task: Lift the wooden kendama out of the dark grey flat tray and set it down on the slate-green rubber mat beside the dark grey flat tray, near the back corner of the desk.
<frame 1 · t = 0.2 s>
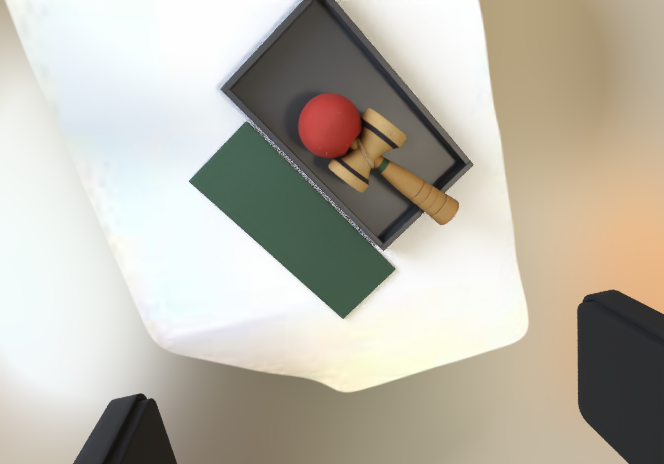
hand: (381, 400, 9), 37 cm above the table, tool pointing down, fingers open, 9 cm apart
dark grey flat tray: (351, 128, 44), on the table
mat: (298, 227, 46), on the table
kendama: (381, 157, 44), point 1 cm above the table, touching dark grey flat tray
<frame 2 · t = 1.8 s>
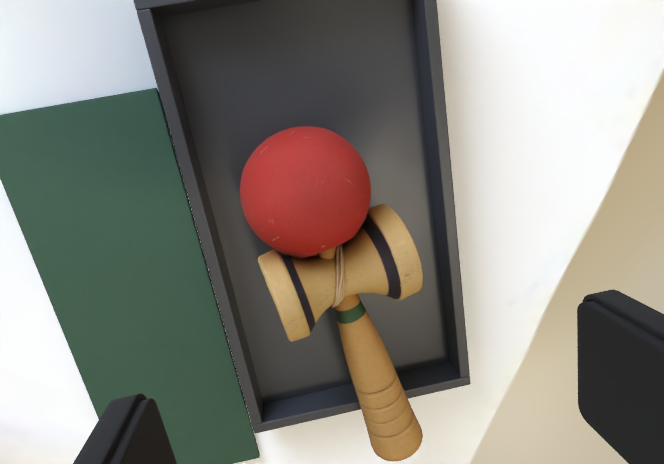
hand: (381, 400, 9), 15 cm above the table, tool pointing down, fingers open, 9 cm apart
dark grey flat tray: (326, 214, 24), on the table
mat: (141, 312, 24), on the table
kendama: (343, 288, 24), point 1 cm above the table, touching dark grey flat tray
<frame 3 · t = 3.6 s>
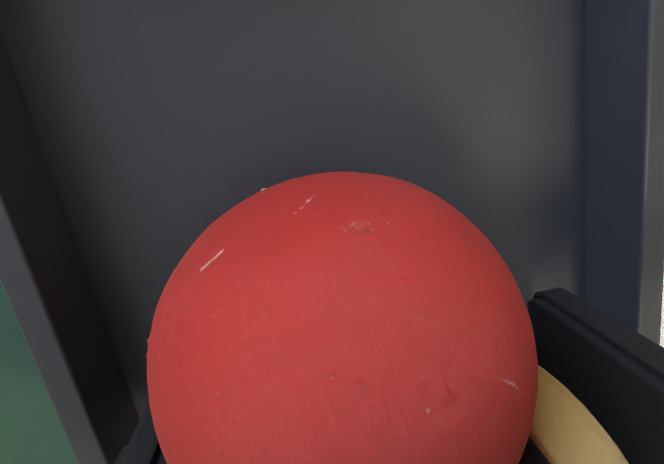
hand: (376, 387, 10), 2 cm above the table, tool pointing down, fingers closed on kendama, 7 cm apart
dark grey flat tray: (364, 340, 11), on the table
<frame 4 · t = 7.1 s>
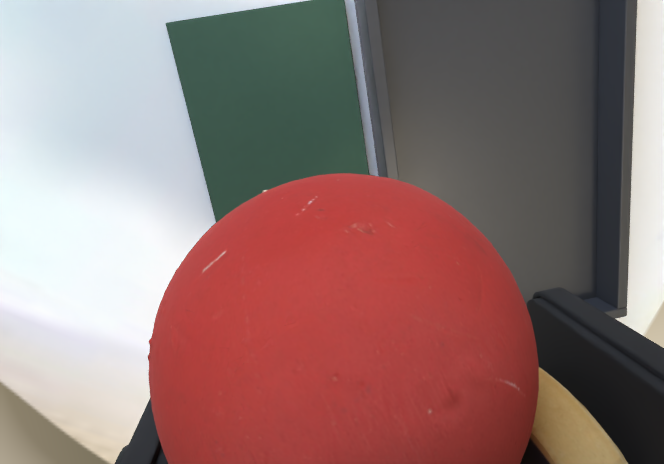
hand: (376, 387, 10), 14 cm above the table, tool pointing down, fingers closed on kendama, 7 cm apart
dark grey flat tray: (492, 136, 23), on the table
mat: (300, 236, 23), on the table
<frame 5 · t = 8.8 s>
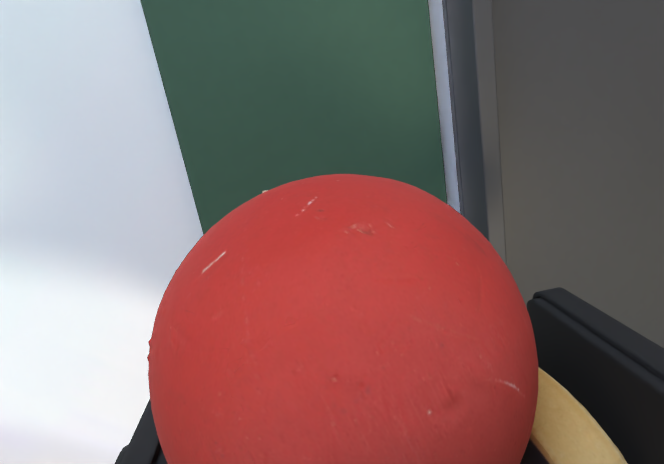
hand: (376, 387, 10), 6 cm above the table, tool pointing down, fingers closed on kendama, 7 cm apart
dark grey flat tray: (629, 130, 15), on the table
mat: (339, 282, 16), on the table
when the fingers open (2 cm above the table, at t = 10.5 s): kendama stays where it is, resting on mat.
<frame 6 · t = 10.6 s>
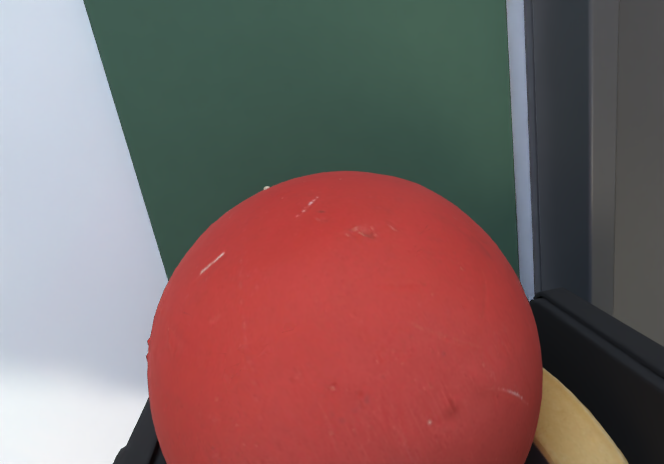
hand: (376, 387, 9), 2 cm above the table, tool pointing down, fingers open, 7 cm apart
mat: (363, 345, 11), on the table
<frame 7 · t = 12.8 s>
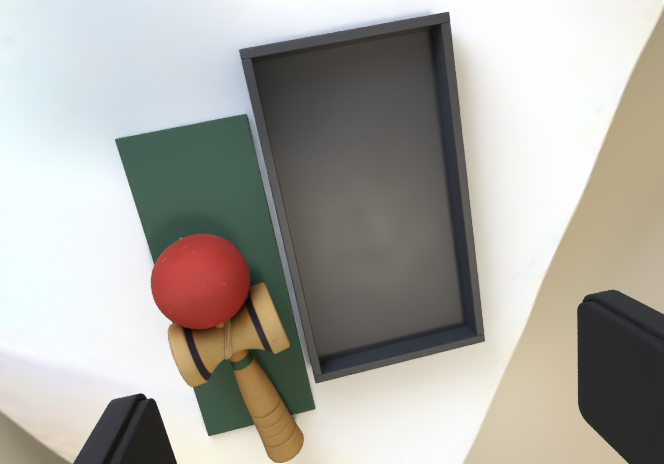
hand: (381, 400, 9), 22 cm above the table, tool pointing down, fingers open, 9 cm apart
dark grey flat tray: (370, 207, 31), on the table
mat: (226, 287, 30), on the table
kendama: (244, 336, 31), resting on mat
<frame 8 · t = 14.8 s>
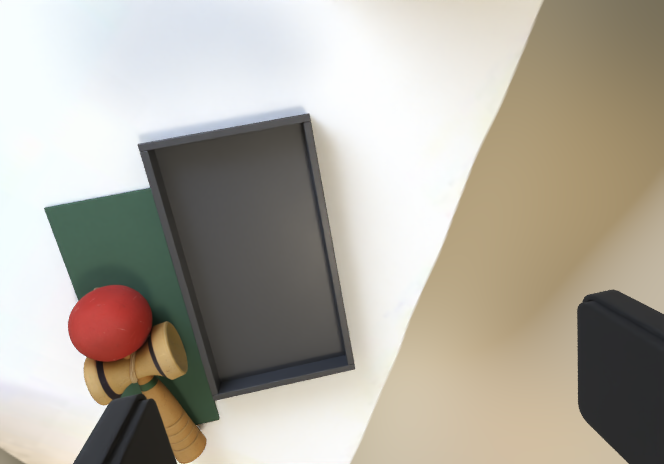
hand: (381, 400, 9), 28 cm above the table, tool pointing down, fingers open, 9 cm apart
dark grey flat tray: (258, 260, 37), on the table
mat: (140, 322, 38), on the table
kendama: (157, 361, 39), resting on mat
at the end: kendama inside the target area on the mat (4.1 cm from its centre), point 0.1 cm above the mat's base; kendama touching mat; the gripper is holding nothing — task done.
